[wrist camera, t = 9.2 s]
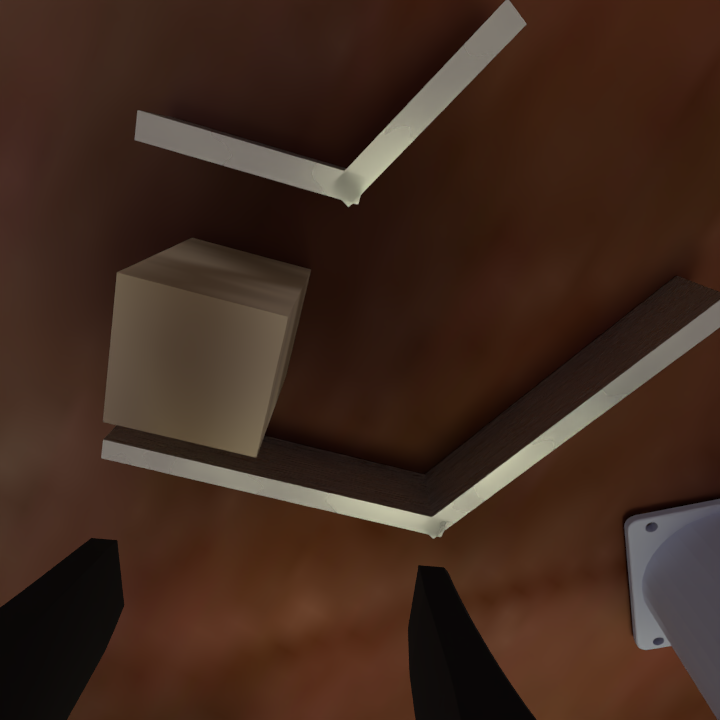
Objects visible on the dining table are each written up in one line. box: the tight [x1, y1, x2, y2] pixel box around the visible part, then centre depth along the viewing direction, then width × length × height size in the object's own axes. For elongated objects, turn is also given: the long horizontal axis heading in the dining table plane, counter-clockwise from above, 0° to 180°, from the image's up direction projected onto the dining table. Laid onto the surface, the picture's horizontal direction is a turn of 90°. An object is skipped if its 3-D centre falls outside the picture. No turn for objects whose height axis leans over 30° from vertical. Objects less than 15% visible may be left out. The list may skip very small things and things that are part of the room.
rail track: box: [101, 0, 720, 539], centre depth 18 cm, size 22×17×3 cm
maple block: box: [103, 238, 311, 457], centre depth 17 cm, size 4×4×6 cm
